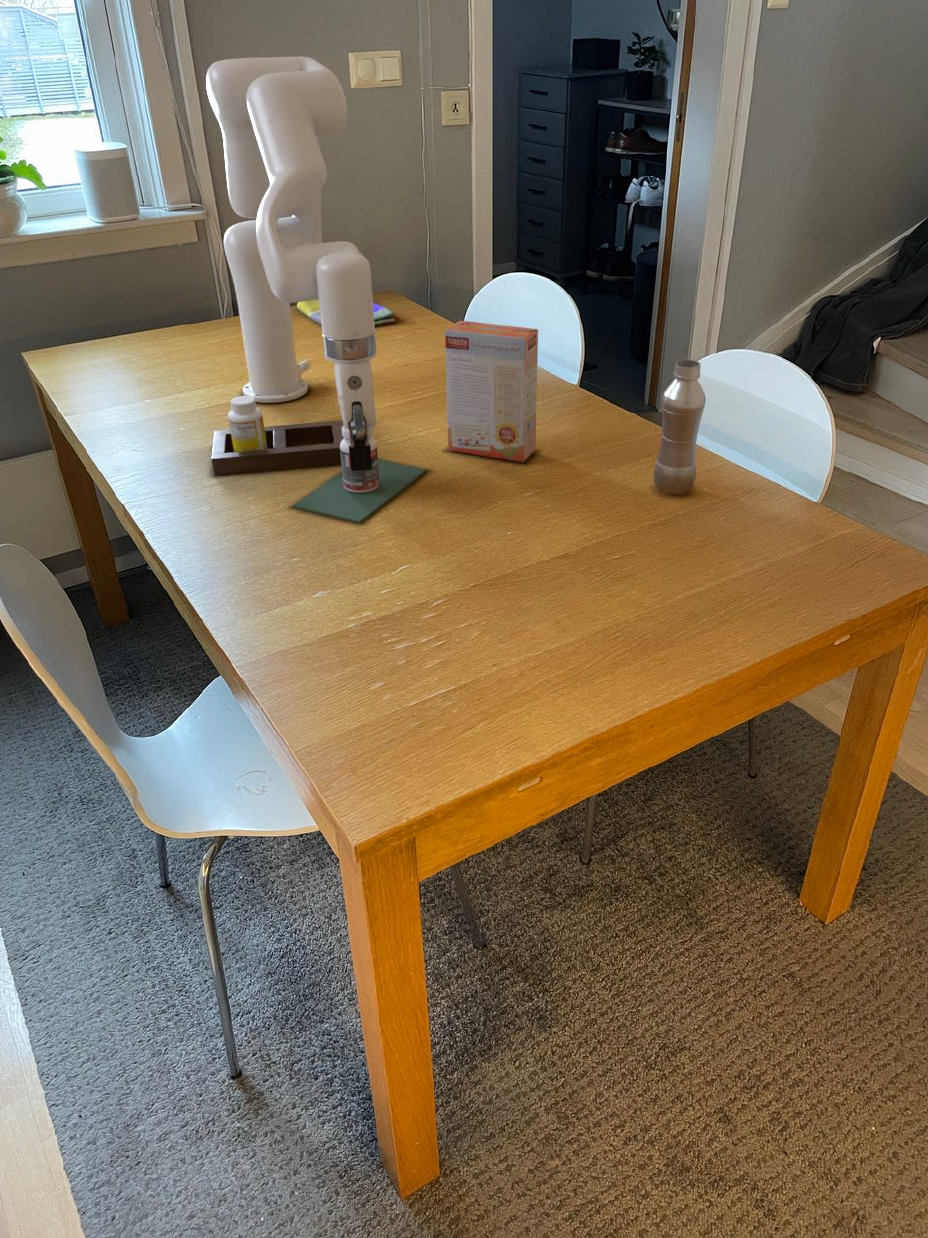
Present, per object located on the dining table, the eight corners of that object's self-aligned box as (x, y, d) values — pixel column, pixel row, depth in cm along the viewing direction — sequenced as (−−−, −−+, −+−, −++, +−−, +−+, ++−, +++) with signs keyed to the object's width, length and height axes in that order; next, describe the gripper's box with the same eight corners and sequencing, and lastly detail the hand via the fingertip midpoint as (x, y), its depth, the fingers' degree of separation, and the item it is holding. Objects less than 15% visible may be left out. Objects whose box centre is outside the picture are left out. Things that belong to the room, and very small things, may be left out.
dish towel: (328, 334, 214) (327, 322, 212) (294, 308, 232) (293, 297, 230) (398, 322, 220) (397, 311, 219) (359, 299, 238) (358, 287, 237)
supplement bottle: (254, 448, 160) (245, 391, 155) (275, 456, 157) (267, 398, 152) (228, 458, 157) (218, 400, 151) (249, 467, 154) (240, 408, 148)
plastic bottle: (696, 483, 146) (713, 358, 135) (690, 501, 141) (708, 373, 130) (655, 477, 148) (669, 354, 137) (648, 496, 143) (661, 369, 132)
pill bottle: (374, 495, 144) (369, 435, 138) (338, 492, 145) (332, 433, 139) (384, 479, 148) (379, 420, 143) (349, 477, 149) (344, 418, 144)
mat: (364, 458, 156) (364, 456, 156) (426, 471, 151) (426, 469, 151) (293, 507, 142) (293, 505, 141) (359, 523, 137) (359, 521, 137)
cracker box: (536, 450, 158) (540, 327, 146) (523, 464, 153) (526, 338, 141) (462, 438, 163) (459, 317, 151) (447, 451, 158) (443, 327, 146)
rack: (217, 446, 161) (214, 430, 160) (343, 435, 164) (342, 419, 163) (214, 475, 151) (211, 458, 150) (349, 463, 154) (347, 447, 153)
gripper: (382, 362, 127) (389, 482, 137) (370, 326, 141) (377, 437, 151) (327, 366, 126) (339, 487, 136) (320, 329, 140) (331, 441, 150)
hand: (359, 459), depth 144 cm, fingers closed on pill bottle, 5 cm apart
